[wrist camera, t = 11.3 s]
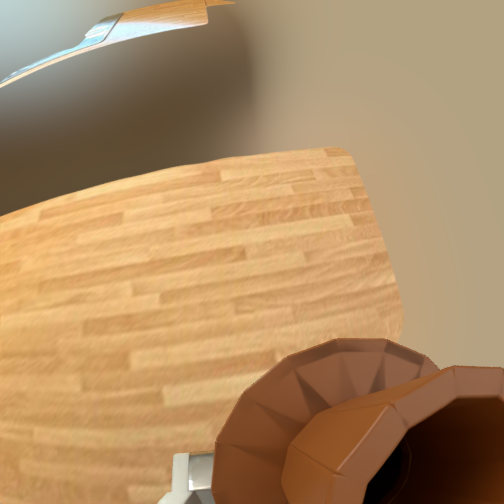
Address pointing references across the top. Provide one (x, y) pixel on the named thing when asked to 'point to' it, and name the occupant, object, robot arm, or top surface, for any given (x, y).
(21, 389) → the top surface
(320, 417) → the vase
